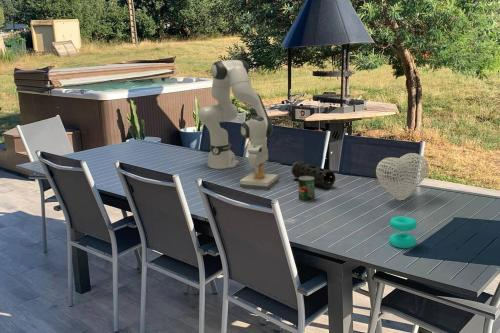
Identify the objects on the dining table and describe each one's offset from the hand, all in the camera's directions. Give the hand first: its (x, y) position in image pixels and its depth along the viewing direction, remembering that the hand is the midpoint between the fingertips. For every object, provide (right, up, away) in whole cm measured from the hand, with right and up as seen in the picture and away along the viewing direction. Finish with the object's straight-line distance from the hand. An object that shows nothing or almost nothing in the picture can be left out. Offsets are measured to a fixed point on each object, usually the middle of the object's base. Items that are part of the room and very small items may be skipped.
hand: (259, 171), depth 285 cm
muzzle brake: (+29, -7, +1) cm, 30 cm away
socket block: (0, -7, +2) cm, 7 cm away
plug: (0, -4, +1) cm, 4 cm away
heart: (+68, -14, -33) cm, 77 cm away
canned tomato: (+23, -14, -26) cm, 37 cm away
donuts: (+53, -27, -85) cm, 104 cm away
